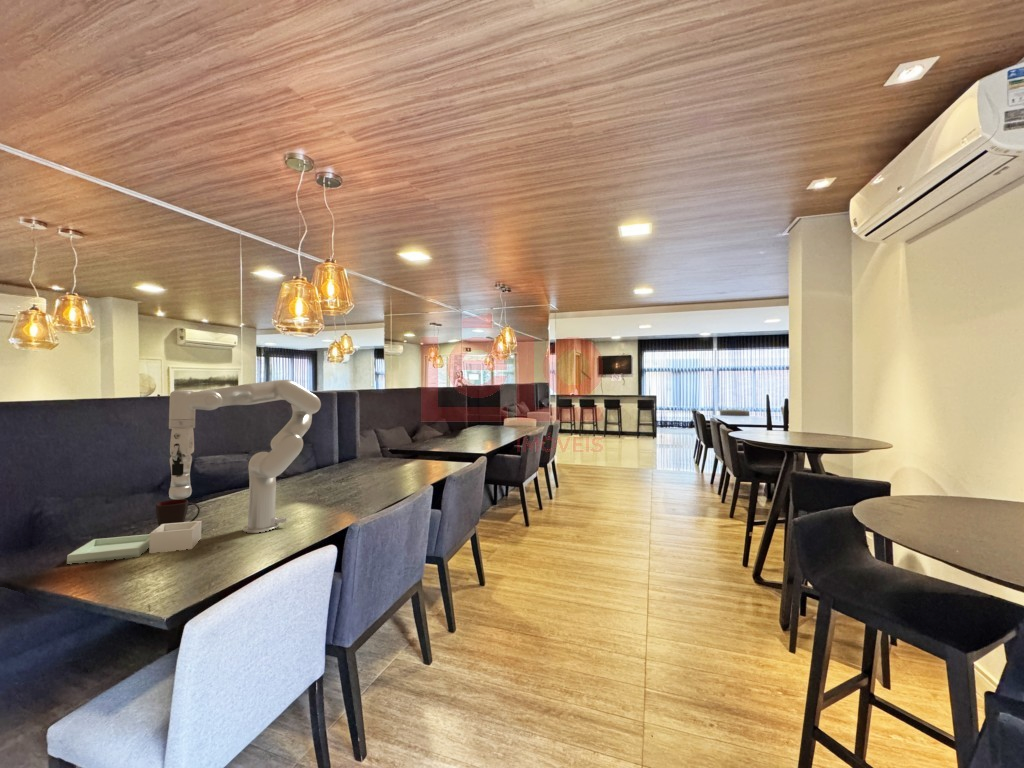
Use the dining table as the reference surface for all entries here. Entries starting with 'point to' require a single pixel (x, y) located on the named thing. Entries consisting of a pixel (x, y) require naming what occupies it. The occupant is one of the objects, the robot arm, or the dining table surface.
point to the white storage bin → (175, 536)
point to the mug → (173, 511)
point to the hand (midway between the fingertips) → (180, 472)
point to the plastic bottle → (181, 480)
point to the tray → (110, 549)
